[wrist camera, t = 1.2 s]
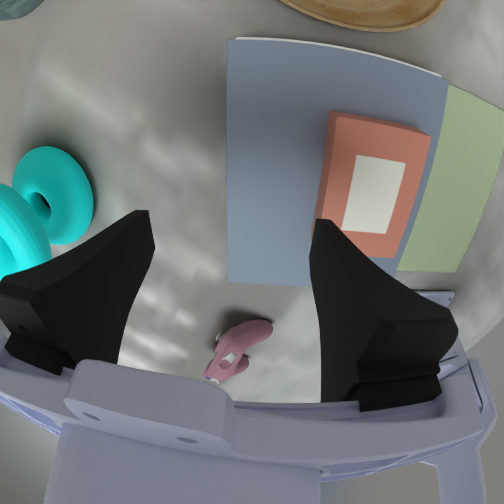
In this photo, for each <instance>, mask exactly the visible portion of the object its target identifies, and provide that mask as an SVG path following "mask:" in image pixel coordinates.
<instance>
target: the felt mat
mask: <svg viewBox="0 0 504 504" xmlns="http://www.w3.org/2000/svg"><path fill="white" fill-rule="evenodd" d="M503 150H504V111H503V110H501V109H499V108H497V107H495V106H494V105H492V104H490V103H488V102H486V101H484V100H482V99H480V98H478V97H476V96H474V95H472V94H470V93H468V92H466V91H463V90H461V89H459V88H457V87H454V86H452V85H450V84H449V85H448V92H447V99H446V105H445V111H444V116H443V122H442V127H441V132H440V136H439V141H438V145H437V149H436V153H435V157H434V161H433V165H432V169H431V172H430V176H429V180H428V183H427V186H426V190H425V193H424V196H423V199H422V202H421V206H420V209H419V212H418V214H417V217H416V220H415V223H414V226H413V229H412V231H411V234H410V237H409V239H408V242H407V245H406V247H405V250H404V252H403V255H402V257H401V260H400V262H399V264H398V267H397V269H396V270H397V271H421V272H449V273H455V272H456V270H457V268H458V266H459V264H460V262H461V261H462V259H463V257H464V254H465V252H466V250H467V248H468V246H469V244H470V242H471V240H472V238H473V235H474V233H475V231H476V229H477V226H478V224H479V221H480V219H481V217H482V214H483V212H484V209H485V206H486V204H487V201H488V198H489V196H490V193H491V190H492V187H493V184H494V181H495V178H496V175H497V172H498V168H499V165H500V161H501V158H502V154H503Z"/></svg>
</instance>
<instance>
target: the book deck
mask: <svg viewBox="0 0 504 504" xmlns="http://www.w3.org/2000/svg"><path fill="white" fill-rule="evenodd" d="M448 85H449V81H448V80H446V79H443V78H442V76H441V75H439V74H436V73H433V72H431V71H428V70H425V69H423V68H420V67H417V66H414V65H411V64H408V63H405V62H402V61H398V60H395V59H392V58H388V57H385V56H381V55H377V54H373V53H369V52H365V51H360V50H356V49H351V48H346V47H341V46H335V45H329V44H323V43H316V42H309V41H300V40H290V39H277V38H257V37H236V40H228V45H227V98H226V186H227V244H228V280H229V282H233V283H249V284H266V285H286V286H307V287H312V283H311V278H310V267H309V254H310V248H311V243H312V239H311V233H312V228H313V222H314V216H315V210H316V204H317V198H318V192H319V185H320V179H321V172H322V165H323V158H324V150H325V143H326V135H327V127H328V118H329V111H336V112H343V113H349V114H355V115H360V116H366V117H371V118H376V119H380V120H385V121H390V122H394V123H398V124H402V125H406V126H410V127H414V128H417V129H419V130H421V131H422V132H424V133H426V134H428V135H429V136H431V140H430V144H429V149H428V153H427V157H426V161H425V165H424V169H423V173H422V176H421V180H420V183H419V187H418V190H417V194H416V197H415V200H414V203H413V206H412V210H411V213H410V216H409V219H408V222H407V224H406V227H405V230H404V233H403V236H402V238H401V241H400V244H399V247H398V249H397V252H396V254H395V257H394V258H385V257H369V256H367V257H368V258H369V259H370V260H371V261H373V262H374V263H375V264H376V265H377V266H379V267H380V268H381V269H382V270H384V271H385V272H386V273H387V274H389V275H390V276H392V277H393V276H394V274H395V271H396V269H397V267H398V264H399V262H400V260H401V257H402V255H403V252H404V250H405V247H406V245H407V242H408V239H409V237H410V234H411V231H412V229H413V226H414V223H415V220H416V217H417V214H418V212H419V209H420V206H421V202H422V199H423V196H424V193H425V190H426V186H427V183H428V180H429V176H430V172H431V169H432V165H433V161H434V157H435V153H436V149H437V145H438V141H439V136H440V132H441V127H442V122H443V116H444V111H445V105H446V99H447V92H448Z"/></svg>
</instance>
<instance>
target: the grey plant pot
mask: <svg viewBox="0 0 504 504" xmlns="http://www.w3.org/2000/svg"><path fill="white" fill-rule="evenodd" d="M42 1H43V0H0V21H4V20H11V19H17V18H20V17H22V16H25V15H26V14H28V13H30V12H31V11H33V10H34V9H35V8H36V7H37V6H39V5H40V4H41V3H42Z"/></svg>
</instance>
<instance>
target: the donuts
mask: <svg viewBox="0 0 504 504" xmlns="http://www.w3.org/2000/svg"><path fill="white" fill-rule="evenodd" d="M40 194H41V195H43V196H44V197H45V199H46V200H47V201H48V203H49V205H50V209H51V210H50V209H49V208H48V207H47V206H46V204H45V203H44V201H43V200H42V198H41V195H40ZM92 215H93V195H92V190H91V187H90V184H89V181H88V179H87V177H86V175H85V173H84V171H83V169H82V168H81V167H80V165H79V164H78V163H77V162H76V160H75V159H74V158H73V157H71V156H70V155H69V154H68V153H66V152H64V151H63V150H61V149H58V148H55V147H50V146H43V147H38V148H35V149H33V150H31V151H29V152H28V153H27V154H25V155H24V156H23V157H22V159H21V160H20V161H19V163H18V165H17V167H16V169H15V172H14V175H13V180H12V188H10V187H9V186H7V185H4V184H1V183H0V281H1V279H2V278H3V277H4V276H6V275H9V274H13V273H16V272H19V271H23V270H26V269H29V268H32V267H34V266H37V265H39V264H42V263H44V262H47V261H49V260H51V259H52V255H51V248H50V244H49V243H51V244H55V245H65V244H69V243H72V242H74V241H76V240H78V239H79V238H80V237H81V236H82V235H83V234H84V233H85V232H86V230H87V229H88V227H89V225H90V222H91V220H92Z"/></svg>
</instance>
